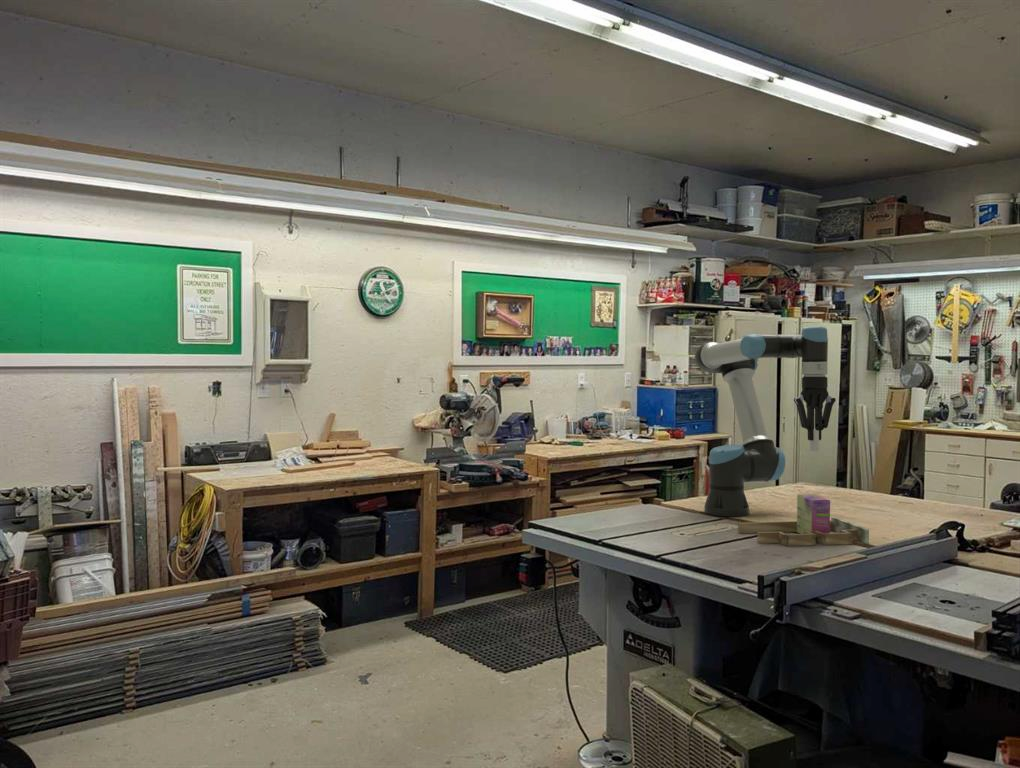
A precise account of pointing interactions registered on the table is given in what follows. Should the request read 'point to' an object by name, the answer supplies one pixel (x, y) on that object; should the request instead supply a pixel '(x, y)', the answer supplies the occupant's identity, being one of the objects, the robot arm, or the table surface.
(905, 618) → the table surface
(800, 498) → the box
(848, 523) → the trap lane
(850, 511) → the table surface
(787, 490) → the table surface
